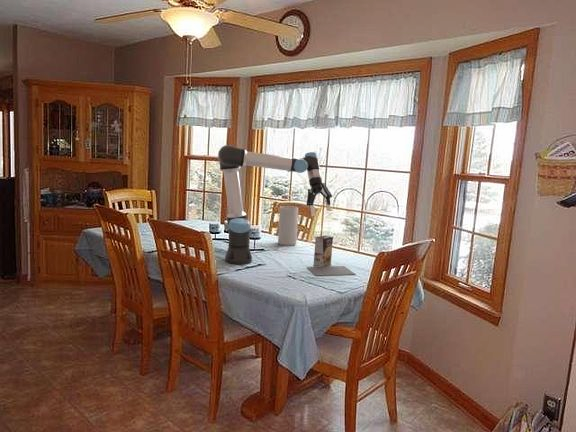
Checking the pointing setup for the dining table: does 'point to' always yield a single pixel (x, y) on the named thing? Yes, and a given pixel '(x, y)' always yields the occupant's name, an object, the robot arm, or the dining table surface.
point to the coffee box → (323, 250)
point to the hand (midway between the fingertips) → (321, 213)
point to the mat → (330, 271)
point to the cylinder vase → (288, 225)
